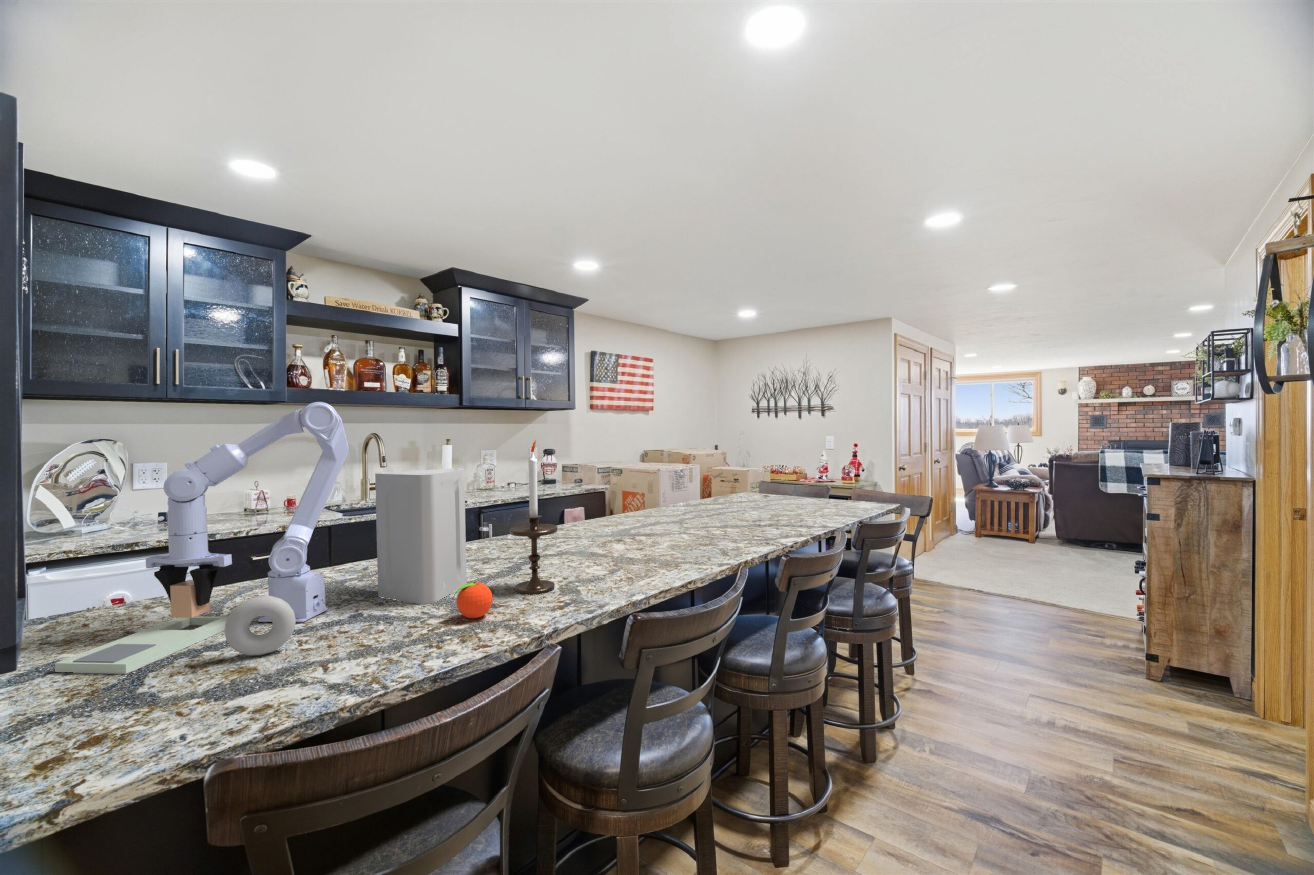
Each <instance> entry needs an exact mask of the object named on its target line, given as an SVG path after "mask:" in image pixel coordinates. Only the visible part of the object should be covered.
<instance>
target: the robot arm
mask: <svg viewBox="0 0 1314 875" xmlns="http://www.w3.org/2000/svg"><path fill="white" fill-rule="evenodd" d="M304 428H306V430H307V431H309V433H310V434H312V435H313V436H314V437H315V439H316V442H317V443H318V445H319V447H320V449H321V452H322V453H321V455H320V456H319V459H318V461H317V463H316V465H315V468H314V469H313V472H312V474H311V476H310V478H309V481H308V483H307V485H306V487H305V489H304V491H303V493H302V496H301V498H300V500H299V503H298V505H297V506H296V509H295V511H294V513H293V515H292V518H291V520H290V522H289V523H288V526H287V528H286V531H285V532H284V534H283V536H282V537H281V538H279V539H278V540H277V541H276V542H275V543H274V544H273V545H272V549H271V552H270V554H269V556H268V565H269V567H270V570H269V571H268V572H267V587H268V590H267V595H268V596H273V597H277V598H280V599H282V600H284V601H285V602H287V603H288V604H289V605H290V607H291V608H292V609H293V611H294V614H295V619H296V623H303V622H305V621H308V620H310V619H312V618H315V617H316V616H317V615H319V614H322V613H323V612H326V611H328V610H329V607H328V606H326V582H325V579H324V576H323V575H322V574H321V573H319V572H313V571H311V566H310V565H308V564H307V563H306V562H307V557H308V556H307V554H308V545H309V543H310V540H311V538H312V535H313V532H314V529H315V528H316V526H317V523H318V521H319V519H320V517H321V514H322V512H323V510H324V508H325V505H326V504H327V501H328V499H329V496H330V494H331V492H332V490H333V487H334V486H335V483H336V481H337V479H338V476H339V474H340V471H341V470H342V467H343V465H344V463H345V461H346V458H347V456H348V454H349V451H350V448H349V447H350V446H349V443H348V439H347V435H346V431H345V428H344V423H343V419H342V418H341V416H340V415H339V413H338V412H337V410H336V409H335V408H334V407H333V406H332V405H330V404H329V403H327V402H323V401H316V402H311V403H309V404H308V405H306V406H305V407H304V408H303V409H302V408H299V409H297V410H294V411H292V412H290V413H287V414H285V415H283V416H280V417H279V418H277V419H276V420H274V421H273V422H271V423H270V424H268V425H266V426H265V427H263V428H261V429H259V431H257V432H255V433H254V434H252V435H251V436H249V437H247V438H246V439H244V440H243V441H241V442H239V443H238V444H234V443H224V444H222V445H219V444H216V445H214V446H212V447H211V448H210V449H209V450H210V452H208V453H207V454H204V455H203V456H202V457H200V458H198V459H196V460H195V461H193V462H192V461H191V460H190V461H188V462H186V463H185V464H184V466H185V467H186V468H185V469H179V470H174V471H173V472H172V473H171V474H170V475H169V476H167V478H166V479H165V481H164V483H163V491H164V493H165V495H166V496H167V507H168V508H167V512H166V513H167V515H166V516H167V538H168V554H167V555H166V554H164V555H163V554H162V555H153V556H152V555H151V556H149V557H146V558H145V568H146V569H154V568H159V569H158V570H156V571H154V572H153V576H154V577H155V578H156V579H157V580H158V581H159V583H160V584H161V585H162V587H163V588H164V591H165V593H166V594H167V597H168V600H169V602H170V603H171V593H170V586H171V585H174V584H177V583H181V582H184V581H187V580H186V579H187V574H188V572H189V574H190V576H191V578H192V579H191V580H193V581H194V585H195V590H196V602H197V605H198V606H202V605H205V604H207V603H209V601H211V596H212V592H213V589H214V586H215V584H216V582H217V579H218V578H219V576H220V574H221V572H222V571H223V569H224V568H225V567H228V566H230V565H233V561H232V560H233V559H232V554H230V553H229V554H227V553H226V554H225V553H213V552H210V551H209V539H208V537H209V536H208V514H207V505H206V494H205V493H206V492H207V491H208V489H209V487H216V486H217V485H219V484H221V483H223V482H224V481H225V480H227V479H229V478H231V477H232V476H233V475H235V474H237V473H238V472H240V471H242V470H244V469H245V468H247V466H248V462H249V458H250V457H251V456H254V454H257V453H258V452H260V451H262V450H264V449H265V448H267V447H268V446H270V445H272V444H273V443H275V442H277V441H279V440H281V439H283V438H284V437H285V436H289V435H294V434H295V435H296V434H302V433H305V431H304ZM189 567H190V568H191V567H198V568H194V569H191V570H189ZM188 570H189V571H188ZM257 622H260V623H261V622H262V623H263V622H264V623H272V621H271V619H270V618H268V617H265V616H261V617H259V618H258V619H257Z"/></svg>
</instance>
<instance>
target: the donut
mask: <svg viewBox="0 0 1314 875" xmlns="http://www.w3.org/2000/svg"><path fill="white" fill-rule="evenodd" d="M264 616H265V617H268V618H270V619H271V621H272V622H271V623H272V627H271V628H270V630H269V631H267V632H266V633H262V634H258V633H257V634H256V633H254V632H252V630H251V629H250V624H251V622H252V621H253V620H254V619H256V618H258V617H259V618H260V617H264ZM227 617H228V618H227V620H226V623H225V630H224V631H223V632H224V635H225V637H224V638H225V641H226V642H227V643H228V645H229V646H230V648H231V649H233V650H235V652H238V653H239V654H242V655H247V656H253V657H254V656H263V655H267V654H270V653H273V652H275V651H277V650H278V649H280V648H281V647H283V646H284V644H286V643H287V642H288V640H290V638H291V637H292V635H293V633H294V630H295V629H296V623H297V622H296V619H295V614H294V611H293V609H292V608H291V607H290V605H289V604H288V603H287V602H285V601H284V600H282V599H280V598H277V597H273V596H269V595H258V596H254V597H251V598H249V599H247V600H245V601H243V602H241V603H239V604H238V605H237V606H236V607H235V608H233V609H232V611H231V612H230V613H229V615H228V616H227Z"/></svg>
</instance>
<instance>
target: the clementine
mask: <svg viewBox="0 0 1314 875" xmlns="http://www.w3.org/2000/svg"><path fill="white" fill-rule="evenodd" d="M455 595H457V596H456V608H457V610H458V612H459V613H461V615H463V616H464V617H466V618H468V619H478V618H481V617H483V616H484V615H485V614H487V613H488V612H489V611H490V609H491V607H492V605H493V601H494V599H493V593H492V591H491V589H490V588H489V587H488V585H486V584H484V583H482V582H476V581H473V582H469V583H467V584H466V585H464V586H462V587H460V588H459V589H458V590H457V591H456V592H455V593H453V597H452V599H451V600H452V601H453V600H454V598H455Z"/></svg>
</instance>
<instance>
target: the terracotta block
mask: <svg viewBox="0 0 1314 875" xmlns="http://www.w3.org/2000/svg"><path fill="white" fill-rule="evenodd" d="M170 593H171V602H170V612H171V614H170V616H171V619H174V618H193V617H195V616H200V615H203V614H205V613H207V612H210V611H211V602H210V601H211V600H210V601H209V603H207V604H205V605H202V606H198V605H197V602H196V590H195V585H194V581H193V579H188V580H185V581H184V582H181V583H177V584H174V585H171V586H170Z"/></svg>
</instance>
